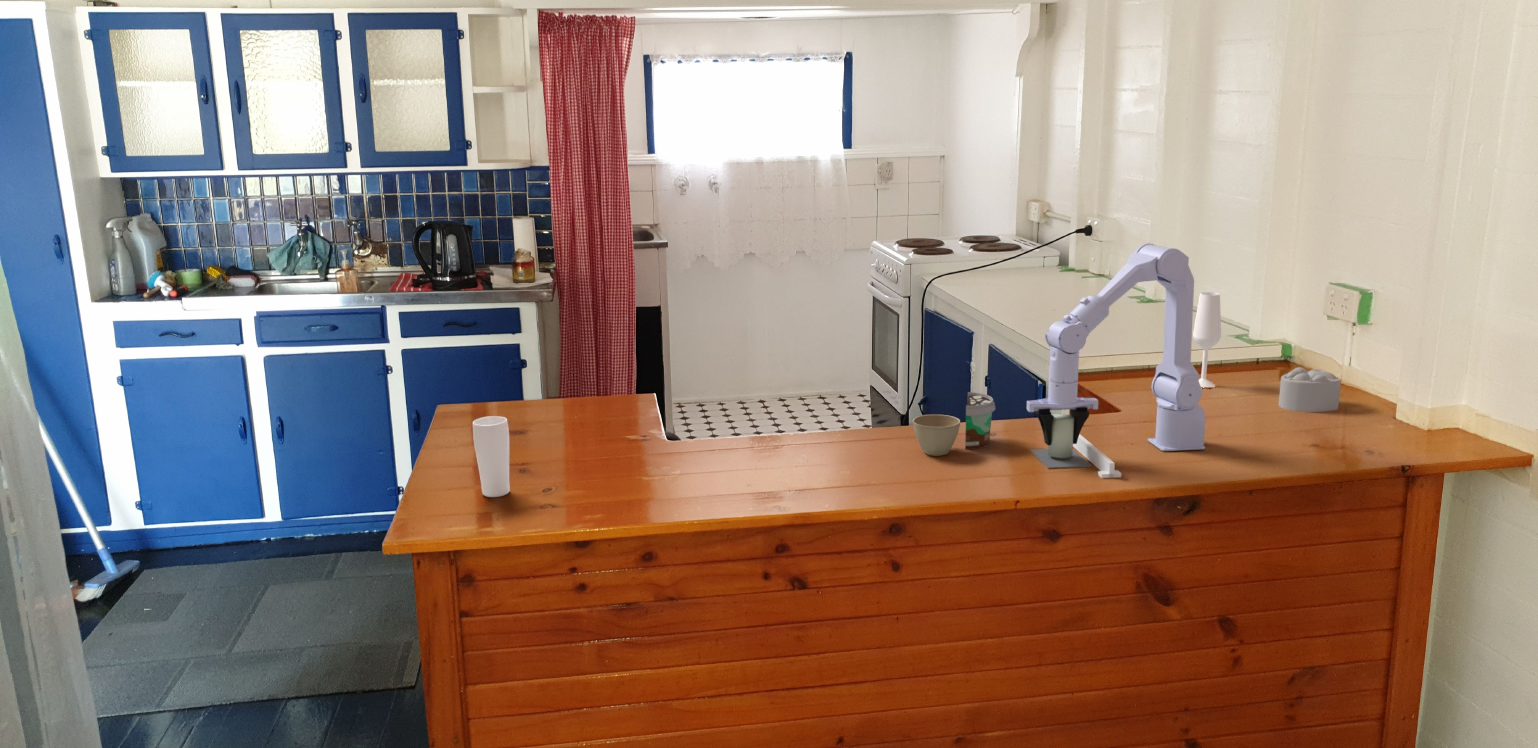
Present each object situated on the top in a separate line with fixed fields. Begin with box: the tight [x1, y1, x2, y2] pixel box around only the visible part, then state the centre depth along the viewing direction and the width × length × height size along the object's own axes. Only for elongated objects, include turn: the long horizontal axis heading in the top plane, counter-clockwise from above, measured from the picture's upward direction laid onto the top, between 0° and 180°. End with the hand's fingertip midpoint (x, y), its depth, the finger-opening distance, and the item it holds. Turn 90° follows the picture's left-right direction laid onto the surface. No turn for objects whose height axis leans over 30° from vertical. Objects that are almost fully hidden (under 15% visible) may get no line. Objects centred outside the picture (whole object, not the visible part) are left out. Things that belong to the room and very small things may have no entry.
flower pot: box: [912, 414, 961, 457], centre depth 239 cm, size 10×10×7 cm
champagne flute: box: [1192, 291, 1222, 388], centre depth 285 cm, size 7×7×24 cm
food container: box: [964, 391, 996, 450], centre depth 244 cm, size 12×6×10 cm, turn 168°
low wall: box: [1073, 434, 1122, 479], centre depth 234 cm, size 4×26×3 cm, turn 5°
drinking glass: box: [472, 415, 511, 498], centre depth 219 cm, size 7×7×15 cm
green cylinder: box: [1047, 413, 1074, 458], centre depth 233 cm, size 5×5×8 cm
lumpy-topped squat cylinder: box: [1278, 366, 1342, 413], centre depth 267 cm, size 10×13×9 cm
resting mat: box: [1029, 448, 1092, 470], centre depth 234 cm, size 9×12×1 cm
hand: (1060, 443), depth 233 cm, fingers closed on green cylinder, 5 cm apart
